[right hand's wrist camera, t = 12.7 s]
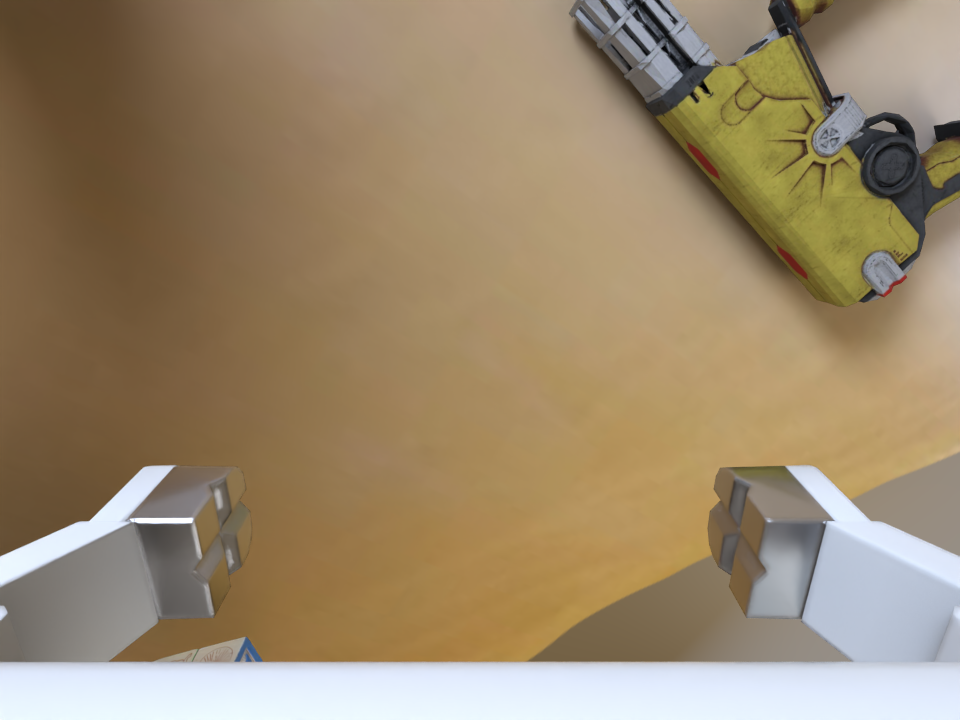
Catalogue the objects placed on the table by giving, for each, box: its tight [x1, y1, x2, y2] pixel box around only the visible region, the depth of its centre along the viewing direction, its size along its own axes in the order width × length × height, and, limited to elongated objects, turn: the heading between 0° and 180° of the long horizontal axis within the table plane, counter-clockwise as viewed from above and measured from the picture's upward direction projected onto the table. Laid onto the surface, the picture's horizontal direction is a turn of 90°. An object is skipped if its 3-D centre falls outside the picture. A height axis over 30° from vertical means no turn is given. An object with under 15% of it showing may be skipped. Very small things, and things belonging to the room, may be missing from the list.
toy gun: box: [569, 0, 960, 307], centre depth 32 cm, size 5×24×15 cm
